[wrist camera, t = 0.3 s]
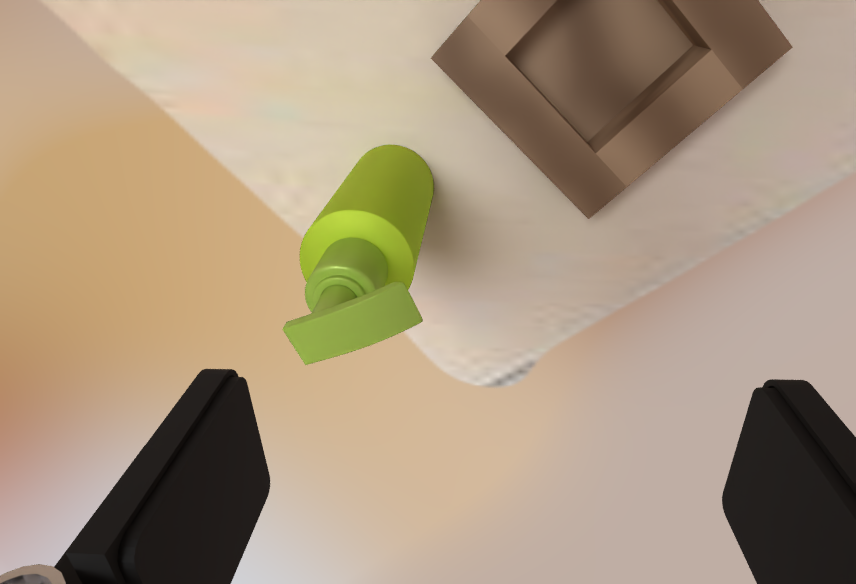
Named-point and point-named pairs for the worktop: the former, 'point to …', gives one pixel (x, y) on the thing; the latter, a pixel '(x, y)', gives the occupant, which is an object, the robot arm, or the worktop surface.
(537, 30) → the well block
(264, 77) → the worktop surface
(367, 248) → the soap dispenser
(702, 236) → the worktop surface
